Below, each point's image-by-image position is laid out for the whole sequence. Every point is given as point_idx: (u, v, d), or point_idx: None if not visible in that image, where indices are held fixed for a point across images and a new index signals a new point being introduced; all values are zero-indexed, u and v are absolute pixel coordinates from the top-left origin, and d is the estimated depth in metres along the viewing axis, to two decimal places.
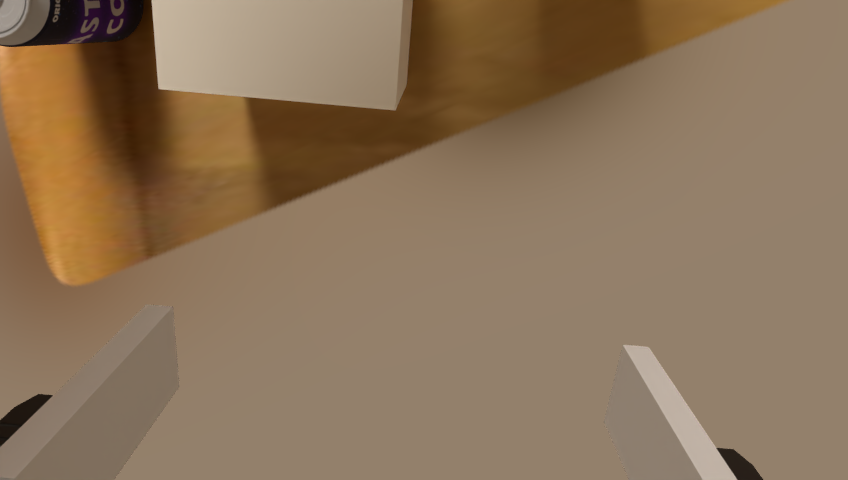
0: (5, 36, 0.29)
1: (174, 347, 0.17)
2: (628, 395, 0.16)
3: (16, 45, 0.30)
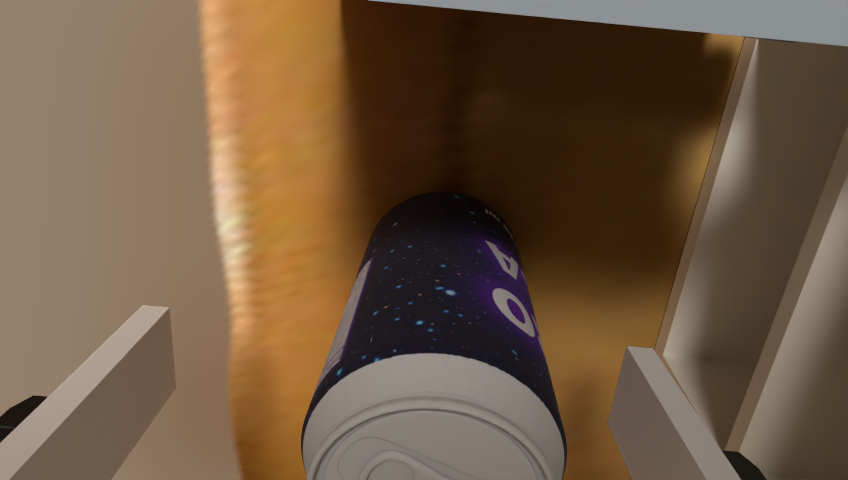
0: None
1: (171, 347, 0.16)
2: (632, 397, 0.15)
3: None
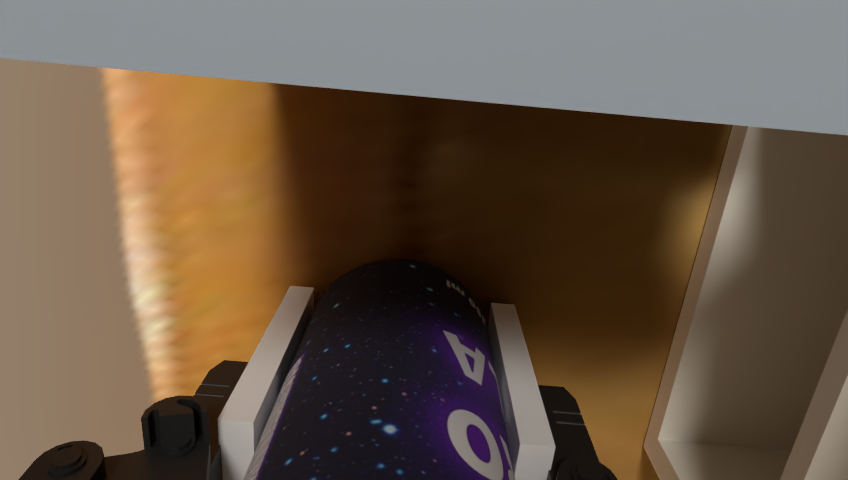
0: None
1: None
2: None
3: None
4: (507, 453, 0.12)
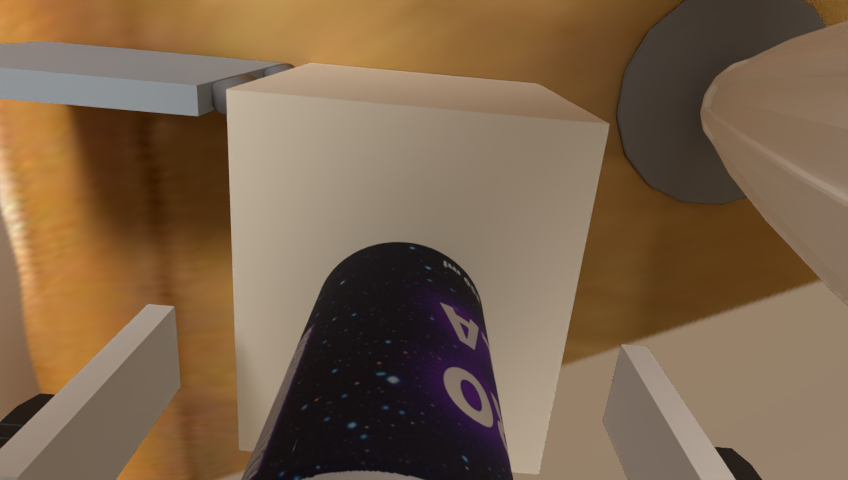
0: None
1: (175, 346, 0.17)
2: (627, 394, 0.16)
3: None
4: (497, 408, 0.13)
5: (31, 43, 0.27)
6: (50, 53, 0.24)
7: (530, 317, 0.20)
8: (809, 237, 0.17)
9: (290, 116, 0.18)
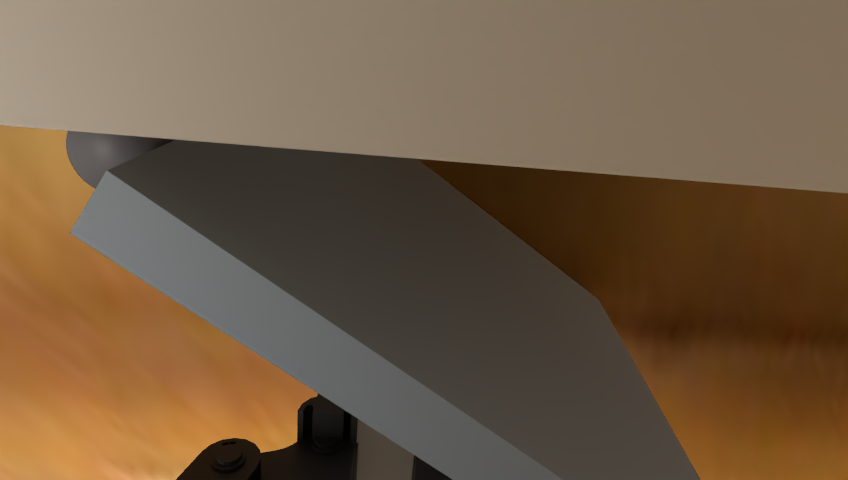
0: None
1: None
2: None
3: None
4: None
5: None
6: None
7: None
8: None
9: None
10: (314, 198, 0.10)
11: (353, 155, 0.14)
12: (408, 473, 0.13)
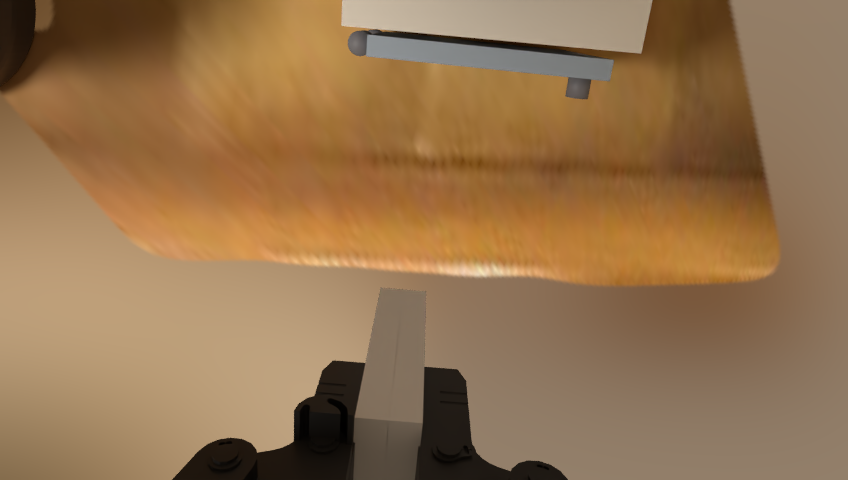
0: None
1: None
2: None
3: None
4: None
5: None
6: None
7: None
8: None
9: None
10: (413, 37, 0.30)
11: (418, 36, 0.34)
12: (411, 473, 0.13)
